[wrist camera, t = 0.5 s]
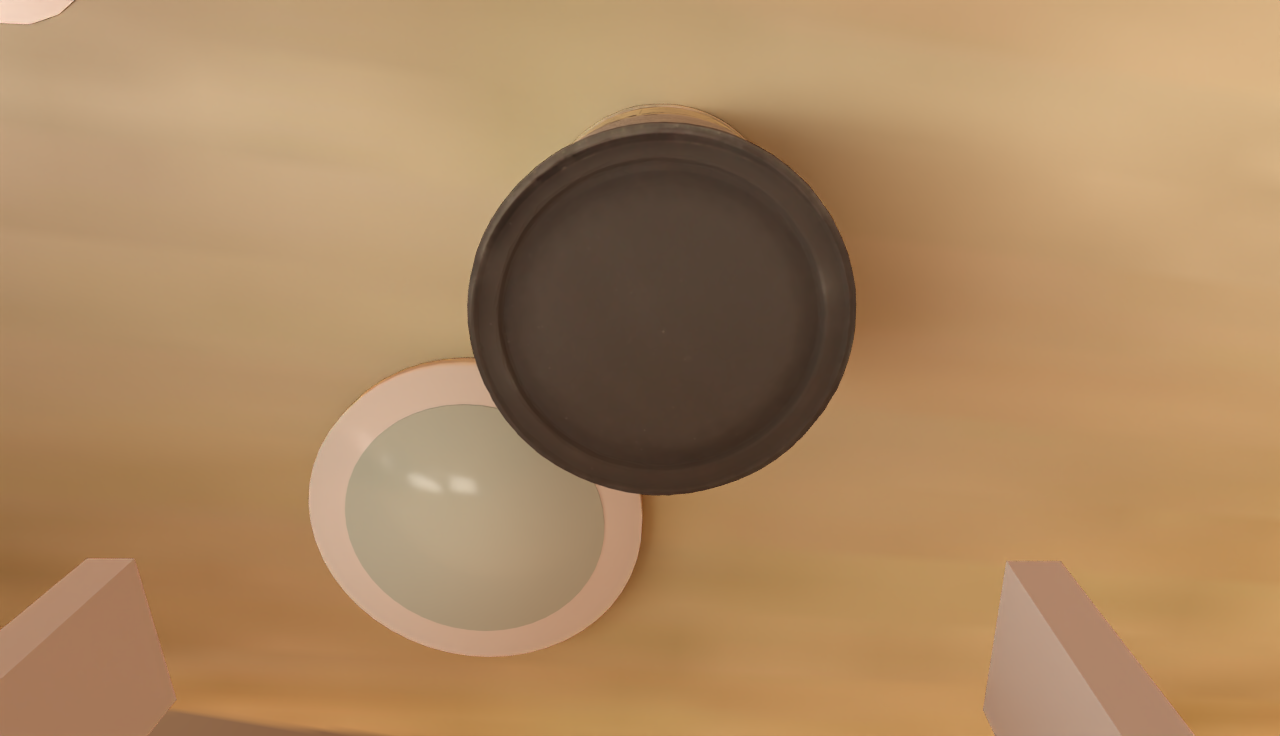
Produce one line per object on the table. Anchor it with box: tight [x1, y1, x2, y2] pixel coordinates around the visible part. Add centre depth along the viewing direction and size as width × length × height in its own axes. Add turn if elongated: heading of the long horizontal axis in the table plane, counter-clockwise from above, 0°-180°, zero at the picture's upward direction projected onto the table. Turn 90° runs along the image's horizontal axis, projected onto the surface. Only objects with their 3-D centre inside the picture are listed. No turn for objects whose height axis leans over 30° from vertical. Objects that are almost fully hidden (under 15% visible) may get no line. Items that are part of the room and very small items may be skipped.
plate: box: [309, 358, 643, 657], centre depth 39 cm, size 16×16×1 cm
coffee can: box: [467, 104, 856, 495], centre depth 28 cm, size 10×10×14 cm
